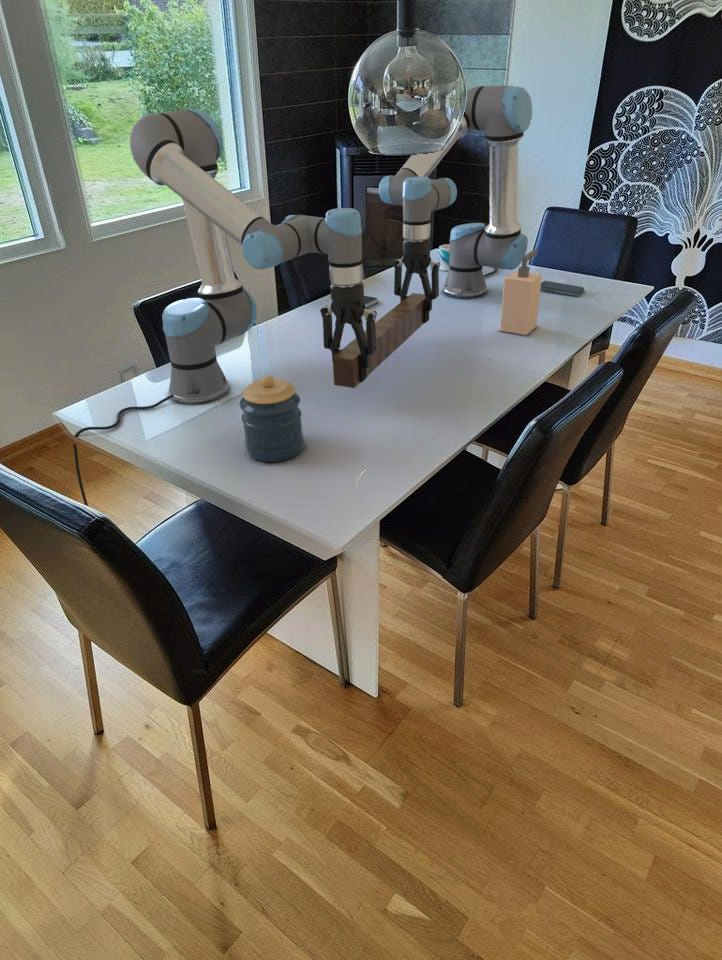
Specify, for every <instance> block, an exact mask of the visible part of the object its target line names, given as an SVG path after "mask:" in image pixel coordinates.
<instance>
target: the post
mask: <svg viewBox="0 0 722 960" xmlns="http://www.w3.org/2000/svg"><path fill="white" fill-rule="evenodd" d="M407 296H408V297H407V298H406V299H404V300H403V301H402V302H401V301H400V302H399V303H398V304H397V305H395V306H394V307H393V308H391V309H390V310H389V311H388V312H386V313H385V314H384V315H383V316H382V317H380V318H379V319H378V320H376V321H375V328H376V344H377V350H376V351H375V352H374V353H373V354H372V355H369V362H370V365H369V367H368V368H367V377H368V376H369V375H371V373H372V372H374V371H375V370H376V369H377V368H378V367H379V366H380V365H381V364H382V363H383V362H384V361H385V360H387V359H388V358H389V357H390V356H391V355H392V354H393V353H394V352H395V351H396V350H397V349H398V348H400V347H401V346H402V345H403V344H404V343H405V342H406V341H407V340H408V339H409V338H410V337H412V336H413V335H414V334H415V333H416V332H417V331H418V330H419V329H420V328H421V327H422V326H423V325H425V323H423V301H424V300H425V299H426V297H425V293H416V292H412V293H410V295H407ZM364 332H365V335H366V339H367V331H366V329H364ZM341 349H342V350H340V351H339V352H338V353H337V354H335V355H334V356H333V362H332V373H333V385H334V386H337V387H338V386H339V387H345V388H351V389H355V388H356V387H358V386H359V385H360V384H361V383H362V382H359V362H358V356H359V355H360V354H361V352H360V349H359V345H358V342H357V339H356V337H355V338H354V339H353V340H352V341H351V342H349V343H348V344H347V345H345V346H344V347H343V348H341Z"/></svg>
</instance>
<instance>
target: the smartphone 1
mask: <svg viewBox="0 0 722 960" xmlns="http://www.w3.org/2000/svg"><path fill="white" fill-rule="evenodd" d="M376 303H378V298H377V297H374V296H368V295H364V305H365V307H366V309H367V308H368V307H371V306H372V305H374V304H376Z"/></svg>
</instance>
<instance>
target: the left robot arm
mask: <svg viewBox="0 0 722 960" xmlns="http://www.w3.org/2000/svg"><path fill="white" fill-rule="evenodd" d="M129 148H130V149H129V150H130V153H131V156H132V158H133V160H134V162H135V164H136V165H137V167H138V168H139V170H140V171H141V172H142V173H143V174H144V175H145V176H146V177H147V178H148V179H149V180H150V181H152V182H154V184H156V185H158V186H166V187H167V188H169V189H170V190H171V191H172V192H174V193H175V194H176V195H177V196H179V197H180V198H181V201H182V204H183V209H184V212H185V217H186V222H187V225H188V230H189V234H190V239H191V242H192V247H193V251H194V255H195V259H196V264H197V268H198V272H199V276H200V280H201V285H200V287H199V288H198V290H197V293H198V297H189V298H188V297H187V298H186V299H179V300H176V301H174V302H172V303H170V304H168V306H166V307H165V308H164V310H163V312H162V314H161V318H162V330H163V333H164V337H165V341H166V345H167V352H168V356H169V361H170V367H171V369H170V370H171V371H170V377H169V386H168V393H169V396H167V397H164V398H163V399H161V400H159V401H158V402H156V403H154V404H152V405H146V406H127V407H125V408H122V409H120V410H119V411H118V412H117V415H116V422H115V423H113V424H110V425H108V426H87V427H86V426H85V427H83V428H80V429H79V430H78V431H77V432H75V434H74V435H73V436H74V438H78V437H79V436H80V434H82V433H83V432H86V431H92V430H94V431H96V430H98V431H103V430H104V431H105V430H111V429H114V428H116V427H117V426H118V425H119V424H120V422H121V415H122V414H123V413H124V412H126V411H127V412H128V411H131V410H151V409H153V408H156V407H158V406H160V405H161V404H164V403H165V402H167V401H169V400H173V401H175V402H177V403H180V404H188V405H189V404H190V405H196V404H197V405H198V404H204V403H208V402H212V401H214V400H217V399H219V398H221V397H223V396H224V395H225V394H227V392H228V391H229V383H228V379H227V378H226V375H225V374H224V372H223V370H222V368H221V366H220V363H219V362H218V358H217V352H216V347H217V346H219V345H222V344H223V343H225V342H227V341H229V340H232V339H234V338H237V337H240V336H242V335H244V334H246V332H248V331H250V330H251V329H252V328H253V326H254V325H255V323H256V320H257V315H258V310H257V303H256V300H255V298H254V296H251V293H250V291H248V290H247V289H245V288H244V286H243V285H244V284H243V283H242V281H240V280H238V279H237V278H236V276H235V271H234V265H233V262H232V256H231V251H230V247H229V242H228V239H227V235H228V237H230V238H231V239H232V240H233V241H235V242H237V243H238V244H239V246H241V251H242V255H243V258H245V260H246V261H247V264H248V265H249V266H250V267H252V268H253V269H256V270H266V269H270V268H274V267H277V266H279V265H280V264H283V263H285V262H288V261H290V260H293V259H296V258H298V257H301V256H304V255H306V254H310V253H315V254H322V255H327V257H328V270H329V271H328V272H329V282H330V283H331V284H330V285H329V286H330V288H329V289H330V299H331V304H330V305H327V304H326V305H324V306H323V307H321V308H320V310H319V311H320V315H321V317H322V333H323V336H322V337H323V348H324V349H325V350H329V351H331V361H332V363H333V356H334V355H335V354H337V353H338V352H339V351H340V350H342V349H343V348H341V347H342V345H341V342H342V339H343V333H344V329H345V324H348V325H350V326H351V329H352V330H353V332H354V336H355V338H356V339H357V342H358V345H359V349H360V352H361V354H360V355H359V356H358V362H359V382H361V383H363V382H365V380H366V379H368V378H367V377H368V376H367V368H368V367H369V365H370V362H369V355H372V354H373V353H374V352H375V351H376V350H377V344H376V328H375V322H376V318H377V315H378V312H377V311H376V310H369V309H367V308H366V307H365V305H364V296H365V288H364V283H363V281H364V266H363V265H364V264H363V229H362V221H361V219H362V218H361V214H360V211H358V210H357V209H355V208H350V207H339V208H332V209H328V210H327V212H326V213H325V217H320V216H313V215H306V214H289V215H287V216H286V217H285V218H284V219H283V220H282V221H281V223H279V224H272V223H271V222H270V221H269V220H267V219H266V218H265V217H263V216H262V215H261V214H260V213H258V212H257V211H255V210H254V209H253V208H252V207H251V206H250V205H248V204H247V203H246V202H244V200H242V199H240V198H239V197H238V196H236V195H235V194H234V193H233V192H232V191H230V190H229V189H228V188H227V187H225V186H224V185H223V184H222V183H221V182H219V181H217V179H216V176H217V174H218V172H219V166H218V162H217V161H218V160H219V159H220V157H222V151H223V150H224V140H223V136H222V132H221V130H220V128H219V126H218V124H217V123H216V121H215V120H214V118H213V117H210V115H209V114H208V113H206V112H205V111H203V110H200V109H185V108H184V109H181V110H173V111H165V112H157V113H155V112H154V113H149V114H146V115H144V116H142V117H140V118H139V119H138V120H137V121H136V123H134V125H133V127H132V129H131V132H130V135H129ZM333 315H334V317H335V322H334V332H333ZM363 316H364V320H365V329H364V326H363V324H364V321H363V319H362V317H363ZM365 330H366V331H367V339H366V335H365V332H364V331H365ZM77 447H78V446H77V444H76V443H74V442H73V443H72V448H73V455H74V462H75V464H74V465H75V469H76V470H75V471H76V476H77V481H78V485H79V489H80V493H81V497H82V501H83V503H84V506H85V505H87V506H88V507H89V504H88V500H87V497H86V493H85V489H84V486H83V481H82V476H81V469H80V464H79V454H78V453H79V452H78V448H77Z"/></svg>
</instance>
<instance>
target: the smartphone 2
mask: <svg viewBox="0 0 722 960" xmlns="http://www.w3.org/2000/svg"><path fill="white" fill-rule="evenodd" d="M540 291H545V292H551V293H557V294H562V295H568V296H574V297H579V296H580V295H581V294H582V293H584V292H585V287H583V286H580V285H572V284H567V283H561V282H555V281H549V280H543V281H541V288H540Z"/></svg>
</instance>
